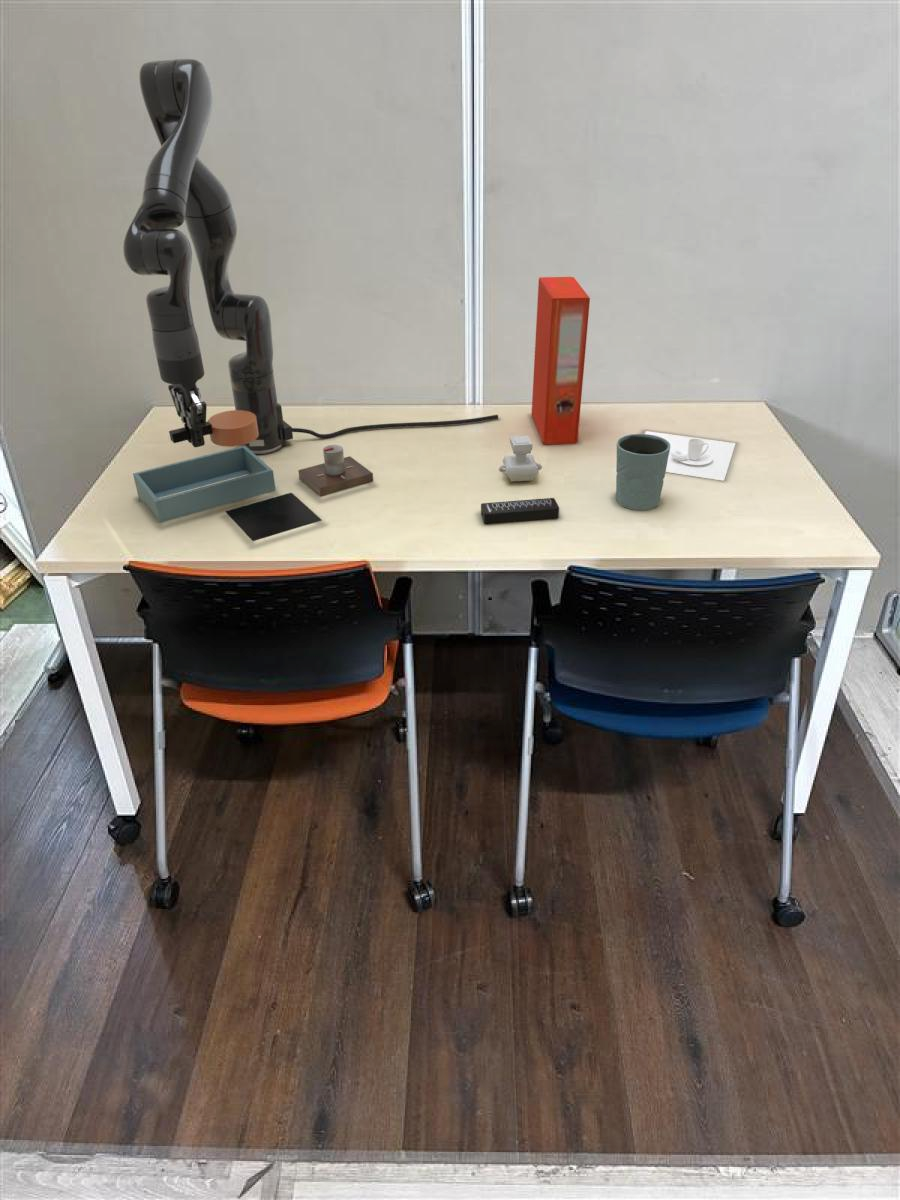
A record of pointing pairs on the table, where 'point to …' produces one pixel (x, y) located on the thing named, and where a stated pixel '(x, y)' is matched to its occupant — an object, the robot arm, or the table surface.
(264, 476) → the basin
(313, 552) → the table surface
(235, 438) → the pan
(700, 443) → the teacup and saucer
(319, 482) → the rotary knob panel
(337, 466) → the tap dial
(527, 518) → the multiport hub
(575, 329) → the file binder
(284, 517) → the plate
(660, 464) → the green cup
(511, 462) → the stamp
